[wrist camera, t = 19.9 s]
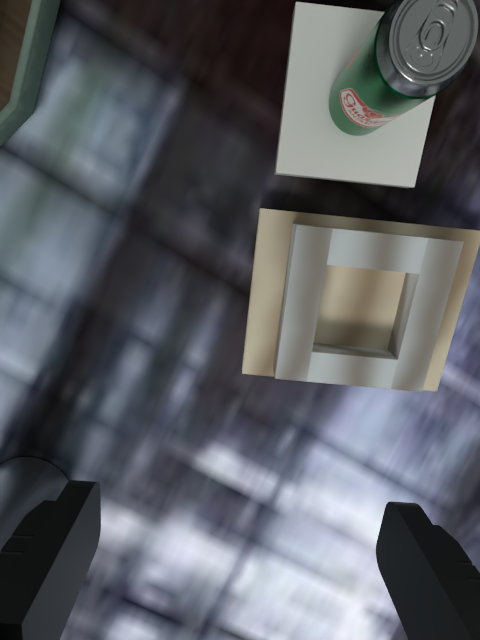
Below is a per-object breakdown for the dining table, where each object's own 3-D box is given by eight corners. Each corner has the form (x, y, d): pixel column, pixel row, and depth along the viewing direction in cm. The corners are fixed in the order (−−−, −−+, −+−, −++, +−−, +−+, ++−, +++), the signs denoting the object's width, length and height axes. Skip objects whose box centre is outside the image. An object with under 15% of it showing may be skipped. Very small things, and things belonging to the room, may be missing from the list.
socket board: (242, 367, 38) (242, 385, 34) (259, 208, 33) (261, 208, 29) (429, 384, 38) (450, 403, 34) (473, 230, 33) (502, 233, 30)
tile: (274, 174, 32) (275, 172, 31) (293, 12, 28) (295, 1, 27) (406, 188, 32) (414, 187, 31) (442, 29, 29) (452, 20, 27)
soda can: (316, 121, 29) (363, 66, 18) (344, 54, 28) (415, -52, 17) (370, 147, 30) (450, 110, 19) (401, 83, 29) (508, -1, 17)
